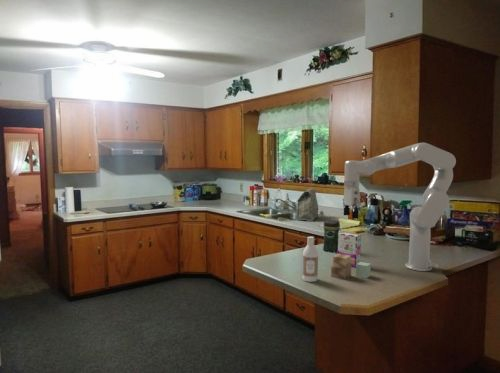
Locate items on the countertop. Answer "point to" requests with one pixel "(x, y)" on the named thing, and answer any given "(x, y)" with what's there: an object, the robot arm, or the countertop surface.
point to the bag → (307, 206)
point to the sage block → (363, 269)
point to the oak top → (341, 261)
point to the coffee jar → (331, 235)
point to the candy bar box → (350, 246)
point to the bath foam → (310, 262)
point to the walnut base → (340, 272)
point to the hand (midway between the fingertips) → (350, 216)
